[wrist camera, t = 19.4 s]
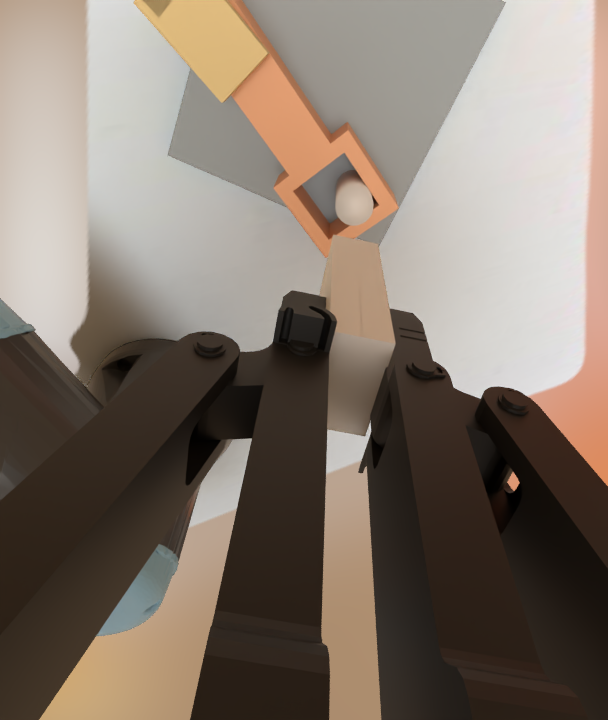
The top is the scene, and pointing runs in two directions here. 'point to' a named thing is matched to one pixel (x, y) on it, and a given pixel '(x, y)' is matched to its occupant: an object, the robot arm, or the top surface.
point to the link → (304, 143)
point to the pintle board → (324, 85)
